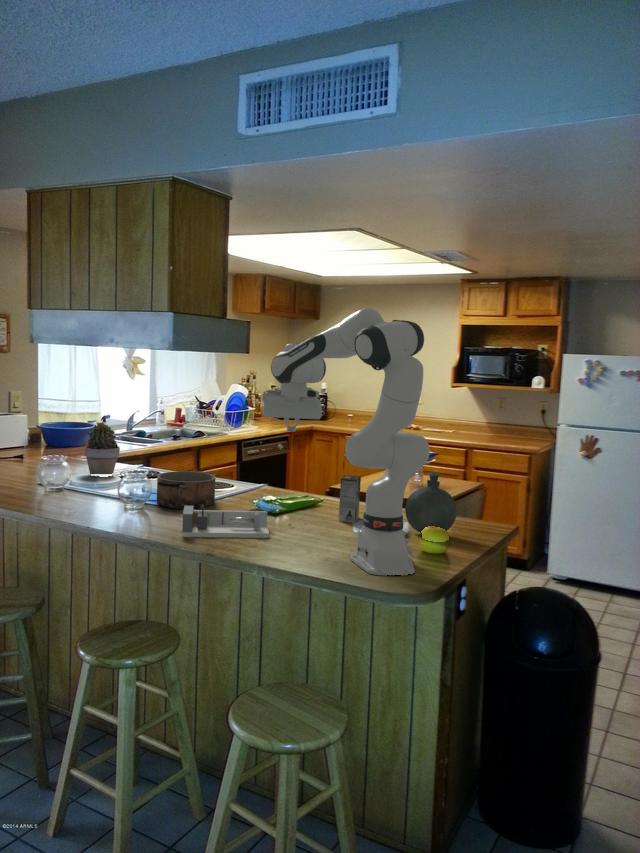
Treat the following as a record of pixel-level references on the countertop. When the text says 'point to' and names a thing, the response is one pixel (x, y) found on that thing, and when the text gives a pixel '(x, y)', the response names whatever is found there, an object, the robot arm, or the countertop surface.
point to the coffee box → (349, 498)
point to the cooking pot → (185, 489)
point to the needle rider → (202, 519)
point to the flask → (431, 506)
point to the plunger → (248, 520)
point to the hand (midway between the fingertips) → (291, 431)
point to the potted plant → (101, 450)
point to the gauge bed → (223, 524)
